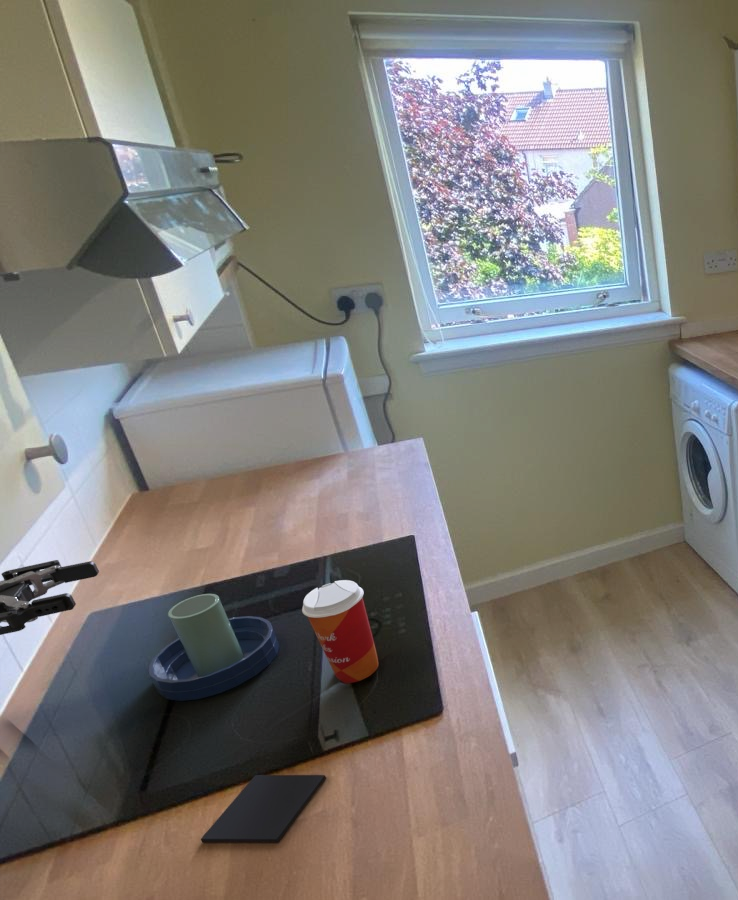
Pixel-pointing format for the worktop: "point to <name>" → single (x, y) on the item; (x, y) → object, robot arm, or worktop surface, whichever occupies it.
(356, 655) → the paper cup
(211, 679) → the bowl
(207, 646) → the cup
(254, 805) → the mat
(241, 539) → the worktop surface
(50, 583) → the robot arm
